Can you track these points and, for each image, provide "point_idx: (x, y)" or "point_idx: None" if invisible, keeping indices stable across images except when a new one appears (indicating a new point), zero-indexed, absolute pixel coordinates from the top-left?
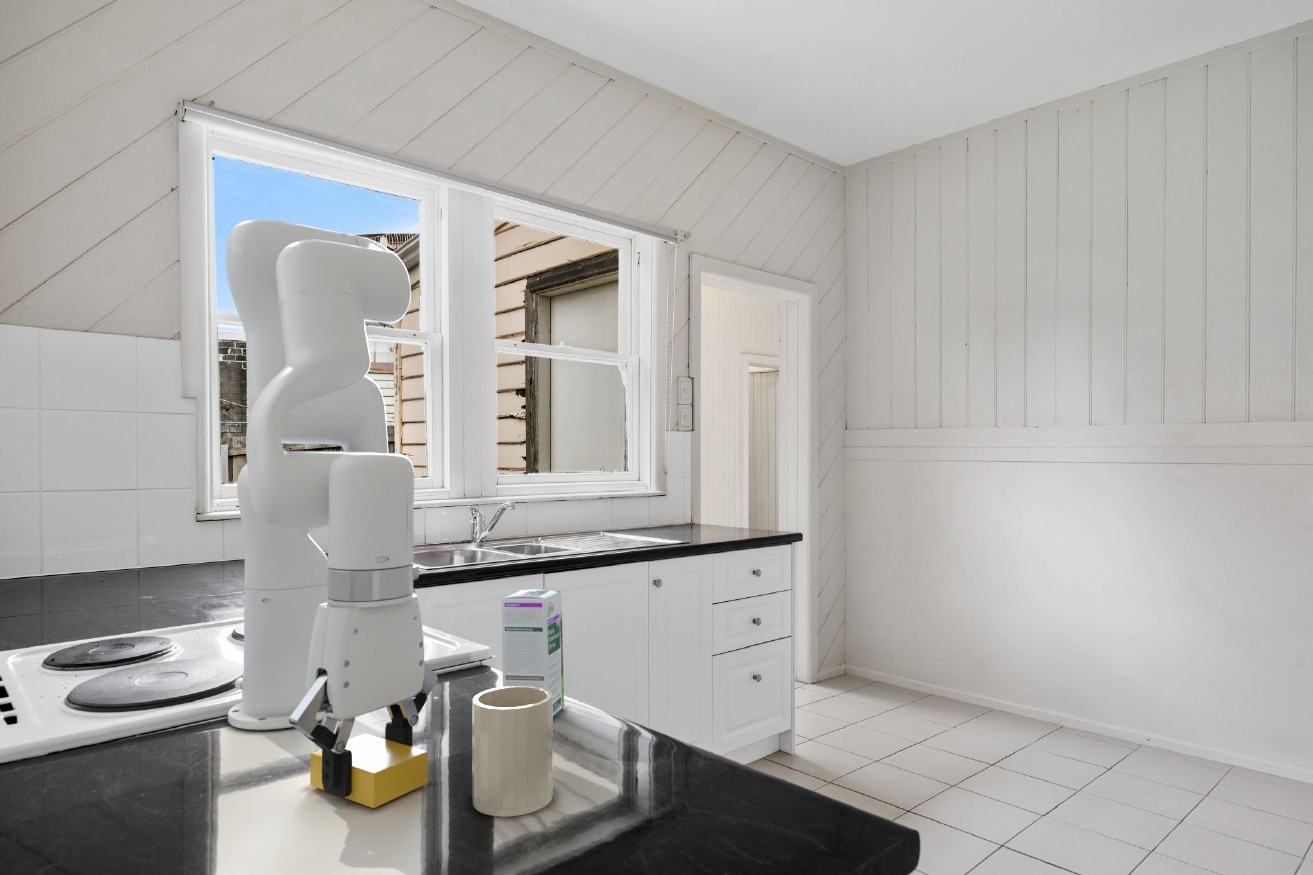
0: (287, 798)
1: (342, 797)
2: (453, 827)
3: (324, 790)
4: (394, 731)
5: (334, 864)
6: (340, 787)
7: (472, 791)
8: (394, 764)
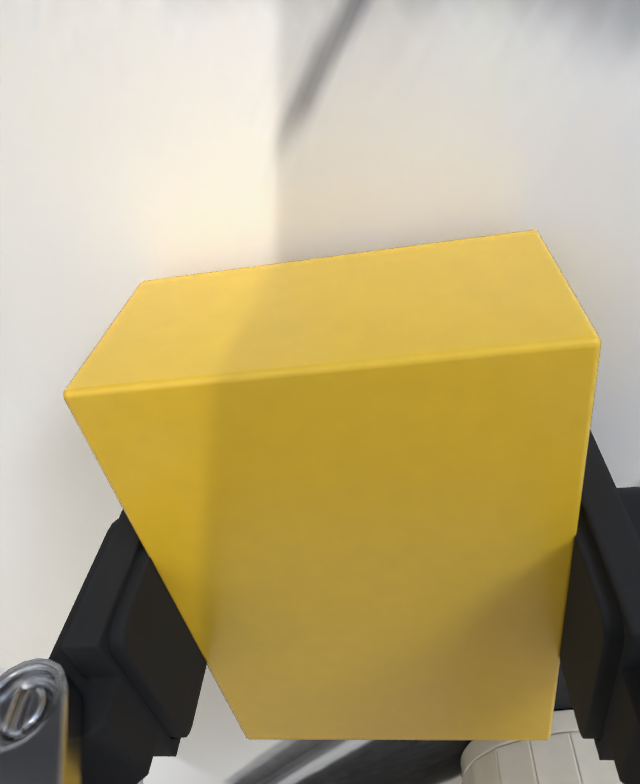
0: (22, 295)
1: None
2: (365, 752)
3: None
4: (585, 664)
5: None
6: None
7: (492, 769)
8: (355, 737)
